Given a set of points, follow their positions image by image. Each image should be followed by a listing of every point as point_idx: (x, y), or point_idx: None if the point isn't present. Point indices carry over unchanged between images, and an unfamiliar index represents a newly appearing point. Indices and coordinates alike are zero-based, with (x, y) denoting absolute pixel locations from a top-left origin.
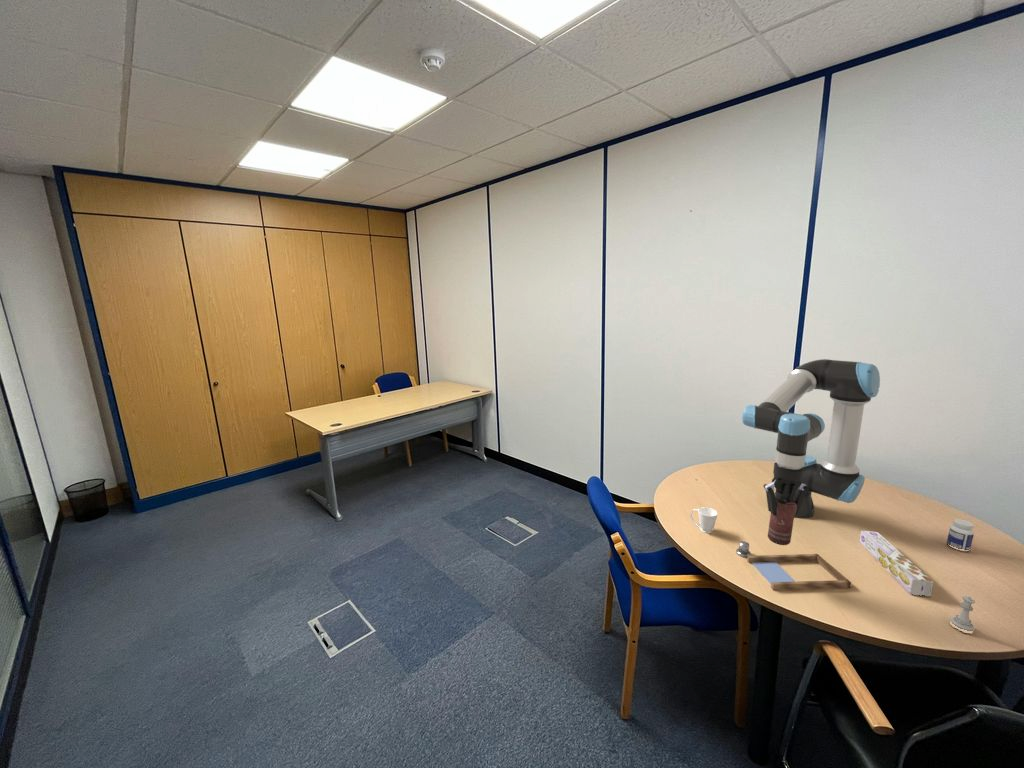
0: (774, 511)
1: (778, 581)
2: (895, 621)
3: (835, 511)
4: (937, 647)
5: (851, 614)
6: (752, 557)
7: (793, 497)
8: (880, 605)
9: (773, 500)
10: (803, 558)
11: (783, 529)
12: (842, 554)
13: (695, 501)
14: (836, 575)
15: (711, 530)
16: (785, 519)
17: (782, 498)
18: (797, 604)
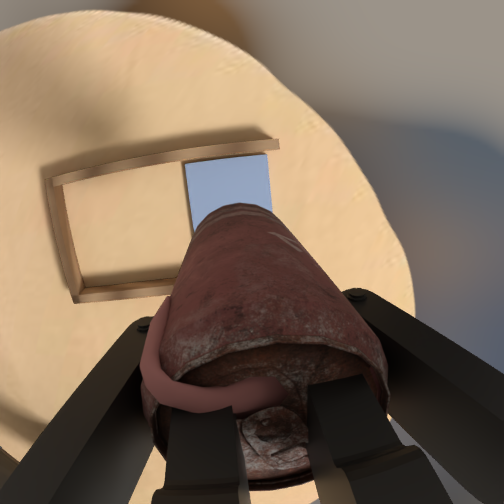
0: (374, 306)
1: (240, 175)
2: (35, 73)
3: (20, 435)
4: (23, 24)
5: (111, 68)
6: None
7: (171, 479)
8: (29, 122)
9: (470, 374)
10: (114, 288)
11: (265, 222)
12: (24, 315)
13: None
14: (62, 215)
15: None
16: (275, 245)
17: (371, 438)
18: (234, 85)
